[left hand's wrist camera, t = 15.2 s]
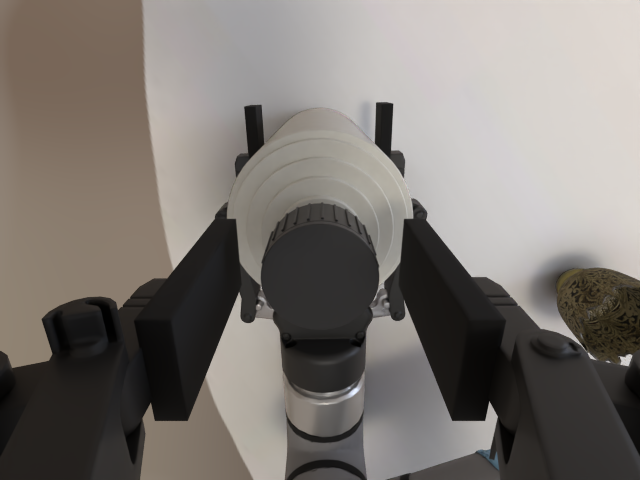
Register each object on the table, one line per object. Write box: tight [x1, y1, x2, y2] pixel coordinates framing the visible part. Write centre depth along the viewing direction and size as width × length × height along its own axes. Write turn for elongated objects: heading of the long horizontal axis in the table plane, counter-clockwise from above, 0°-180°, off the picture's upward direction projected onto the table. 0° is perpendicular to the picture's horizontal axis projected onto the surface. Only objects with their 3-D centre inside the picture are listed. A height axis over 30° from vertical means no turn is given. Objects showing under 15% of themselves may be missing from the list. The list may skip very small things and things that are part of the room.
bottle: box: [227, 108, 413, 286], centre depth 23 cm, size 8×8×23 cm
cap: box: [261, 202, 379, 330], centre depth 13 cm, size 4×4×2 cm
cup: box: [556, 268, 640, 365], centre depth 35 cm, size 8×7×8 cm
